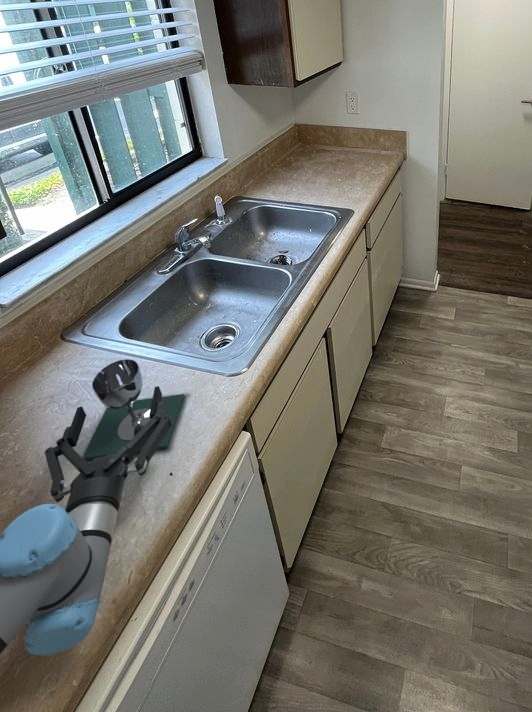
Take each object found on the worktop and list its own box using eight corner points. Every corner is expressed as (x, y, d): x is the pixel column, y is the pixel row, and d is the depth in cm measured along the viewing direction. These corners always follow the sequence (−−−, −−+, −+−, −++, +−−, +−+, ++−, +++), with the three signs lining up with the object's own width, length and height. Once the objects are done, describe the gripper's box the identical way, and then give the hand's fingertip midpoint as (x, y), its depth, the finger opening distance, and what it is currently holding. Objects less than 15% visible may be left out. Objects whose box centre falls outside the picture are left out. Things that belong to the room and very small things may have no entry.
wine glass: (111, 448, 89) (87, 399, 82) (119, 414, 95) (97, 366, 89) (155, 434, 91) (135, 385, 85) (159, 401, 98) (141, 354, 91)
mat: (83, 461, 87) (81, 458, 87) (110, 406, 98) (108, 403, 98) (167, 448, 90) (166, 445, 89) (185, 396, 100) (184, 393, 100)
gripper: (6, 558, 68) (54, 432, 86) (181, 499, 75) (192, 394, 93) (-15, 533, 64) (40, 407, 82) (171, 473, 72) (184, 370, 90)
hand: (121, 400), depth 88 cm, fingers open, 13 cm apart
